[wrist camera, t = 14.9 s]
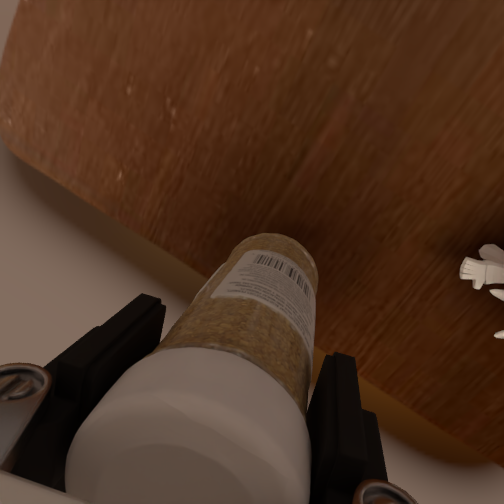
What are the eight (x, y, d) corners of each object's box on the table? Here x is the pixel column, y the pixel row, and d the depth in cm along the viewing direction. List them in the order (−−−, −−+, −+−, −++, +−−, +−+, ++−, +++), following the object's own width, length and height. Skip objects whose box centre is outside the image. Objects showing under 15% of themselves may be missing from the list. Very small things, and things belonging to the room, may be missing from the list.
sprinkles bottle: (208, 267, 20) (5, 477, 8) (279, 211, 19) (182, 347, 6) (266, 337, 21) (167, 649, 8) (340, 286, 19) (366, 562, 7)
